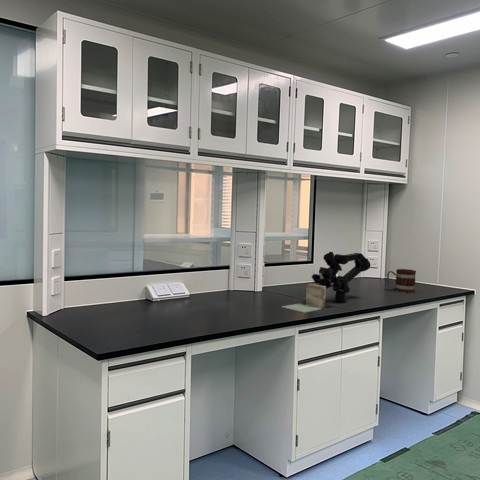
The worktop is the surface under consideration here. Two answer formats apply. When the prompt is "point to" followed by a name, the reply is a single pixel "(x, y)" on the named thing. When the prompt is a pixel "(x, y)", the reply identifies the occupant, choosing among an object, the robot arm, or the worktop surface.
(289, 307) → the mat
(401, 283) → the mug
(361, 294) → the worktop surface
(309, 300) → the birch block
